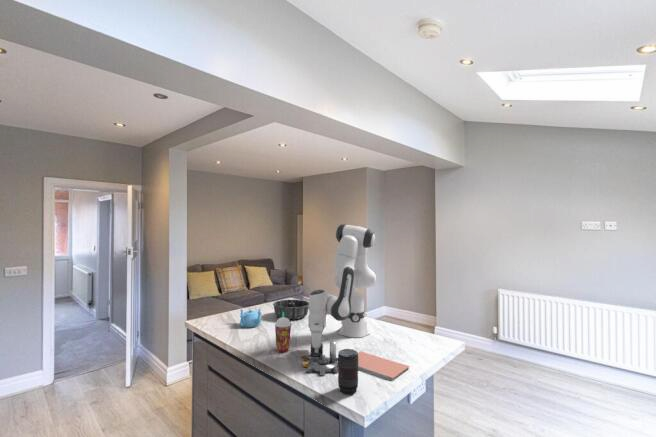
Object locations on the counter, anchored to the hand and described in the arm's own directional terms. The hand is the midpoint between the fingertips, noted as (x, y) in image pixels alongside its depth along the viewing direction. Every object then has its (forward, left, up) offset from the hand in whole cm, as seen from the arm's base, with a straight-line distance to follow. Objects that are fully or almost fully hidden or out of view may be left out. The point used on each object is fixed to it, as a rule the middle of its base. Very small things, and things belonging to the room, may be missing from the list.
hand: (316, 350), depth 164 cm
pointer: (+5, -5, -2) cm, 8 cm away
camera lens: (+35, +13, -3) cm, 38 cm away
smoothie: (-6, -18, -3) cm, 19 cm away
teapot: (-50, -44, -3) cm, 66 cm away
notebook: (+13, +27, -3) cm, 30 cm away
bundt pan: (-71, -20, -3) cm, 73 cm away
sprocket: (+13, +3, -2) cm, 14 cm away
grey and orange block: (0, 0, -2) cm, 2 cm away
